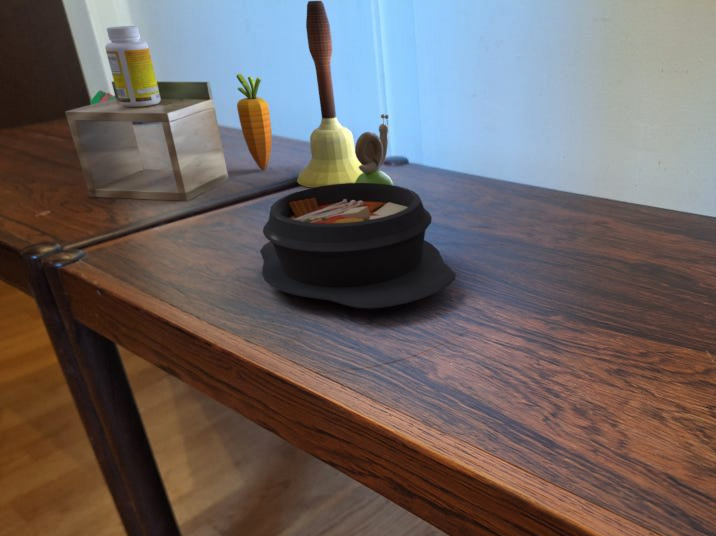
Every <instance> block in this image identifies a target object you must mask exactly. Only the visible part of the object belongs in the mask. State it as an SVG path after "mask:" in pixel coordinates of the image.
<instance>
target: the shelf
mask: <svg viewBox="0 0 716 536" xmlns="http://www.w3.org/2000/svg"><path fill="white" fill-rule="evenodd" d="M156 81H157V85H158V89H159V94H160V98H161V100H160V102H159V103H158V104H155V105H151V106H144V107H125V106H123V105H121V104H120V102H119V98H118V94H117V91H116V87H115V83H114V80H113V81H111V86H112V90H113V93H114V95H115V97H116V99H112V100H108V101H104V102H100V103H96V104H92V105H91V104H89V105H84V106H81V107H76V108H73V109H69V110H66V111H64V113H65V116H66V120H67V123H68V126H69V130H70V133H71V137H72V141H73V143H74V147H75V150H76V154H77V156H78V160H79V163H80V168H81V171H82V174H83V177H84V181H85V184H86V188H87V190H88V194H89V197H90V198H105V199H106V198H107V199H108V198H109V199H128V200H129V199H133V200H153V201H180V202H188V201H190V200H192V199H193V198H196V197H198V196H200V195H201V194H204V193H205V192H207V191H209V190H211V189H213V188H214V187H217V186H219V185H220V184H222V183H224V182H226V181H228V180H229V174H228V169H227V163H226V159H225V154H224V149H223V143H222V138H221V133H220V128H219V122H218V117H217V113H216V108H215V103H214V97H213V92H212V88H211V82H210V81H169V80H168V81H161V80H160V81H158V80H156ZM133 122H138V123H141V122H143V123H161V125H162V129H163V133H164V134H163V135H164V138H165V142H166V146H167V150H168V151H167V152H168V155H169V160H170V164H171V168H172V169H155V168H154V169H152V168H151V169H149V168H144V165H143V160H142V156H141V152H140V149H139V145H138V141H137V137H136V133H135V129H134V124H133Z"/></svg>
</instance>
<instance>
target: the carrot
mask: <svg viewBox="0 0 716 536" xmlns="http://www.w3.org/2000/svg"><path fill="white" fill-rule="evenodd" d="M236 78H237V80H238V81H239V83H240V85H241V86H242V87H243V88H242V87H237V91H239V92H240V93H241V94H243V95H244V96H245V97H244V98H241V99H239V100H238V101H237V103H236V110H237V114H238V118H239V124H240V128H241V132H242V135H243V139H244V141H245V144H246V146H247V149H248V151H249V154H250V155H251V158H252V159H253V161H254V162H255V164H256V165H257V167H258V168H259V169H260V170H261V171H263V172H264V171H265V170H266V169H267V168H268V165H269V162H270V158H271V154H272V153H271V152H272V123H271V115H270V107H269V104H268V102H267V101H266V100H265V99H263V98H262V97H257V96H258V95H257V94H258V90H259V87H260V84H261V81H262V79H261V77H260V76H259V77H258V76H257V77H256V79H255V80H254V77H252V76H248V77H247V79H246V78H245V77H244V76H243V74H242V73H237V74H236ZM247 80H248V81H247Z"/></svg>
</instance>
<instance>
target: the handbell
mask: <svg viewBox="0 0 716 536" xmlns="http://www.w3.org/2000/svg"><path fill="white" fill-rule="evenodd" d="M306 4H307V5H306V18H305V19H306V20H305V28H306V29H305V30H306V37H307V45H308V51H309V54H310V55H311V59H312V60H313V63H314V64H313V65H314V68H315V74H316V75H315V76H316V81H317V82H316V84H317V90H318V99H319V105H320V106H319V107H320V115H321V121H320V124H319V126H318V127H316V128H314V130H312V132H311V134H310V136H309V144H310V145H309V146H310V153H311V158H310V160H309V163H308V164H307V166H306V167H305V168H304V169H303V170H302V171H301V172H300V173H299V174H298V176H297V178H296V179H297V180H296V183H298V185H301V186H302V187H306V188H314V187H320V186H325V185H333V184H344V183H355V181H356V179H357V178H358V177H359V175H360V174H362V173H363V172H362V171H361V170H360V169H359V166H360V165H362V164H361V163H360V162H359V161H358V159H357V157H356V153H355V141H354V135H353V133H352V131H351V130H350V129H348V128H347V127H346V126H342V124H341V123H340V122H339V120H338V118H337V113H336V104H335V95H334V88H333V78H332V70H331V69H332V67H331V63H332V61H331V59H332V54H333V42H332V41H333V40H332V32H331V26H330V21H329V18H328V14H327V11H326V7H325V5H324V2H323V1H322V0H308V2H307V3H306Z"/></svg>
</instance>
